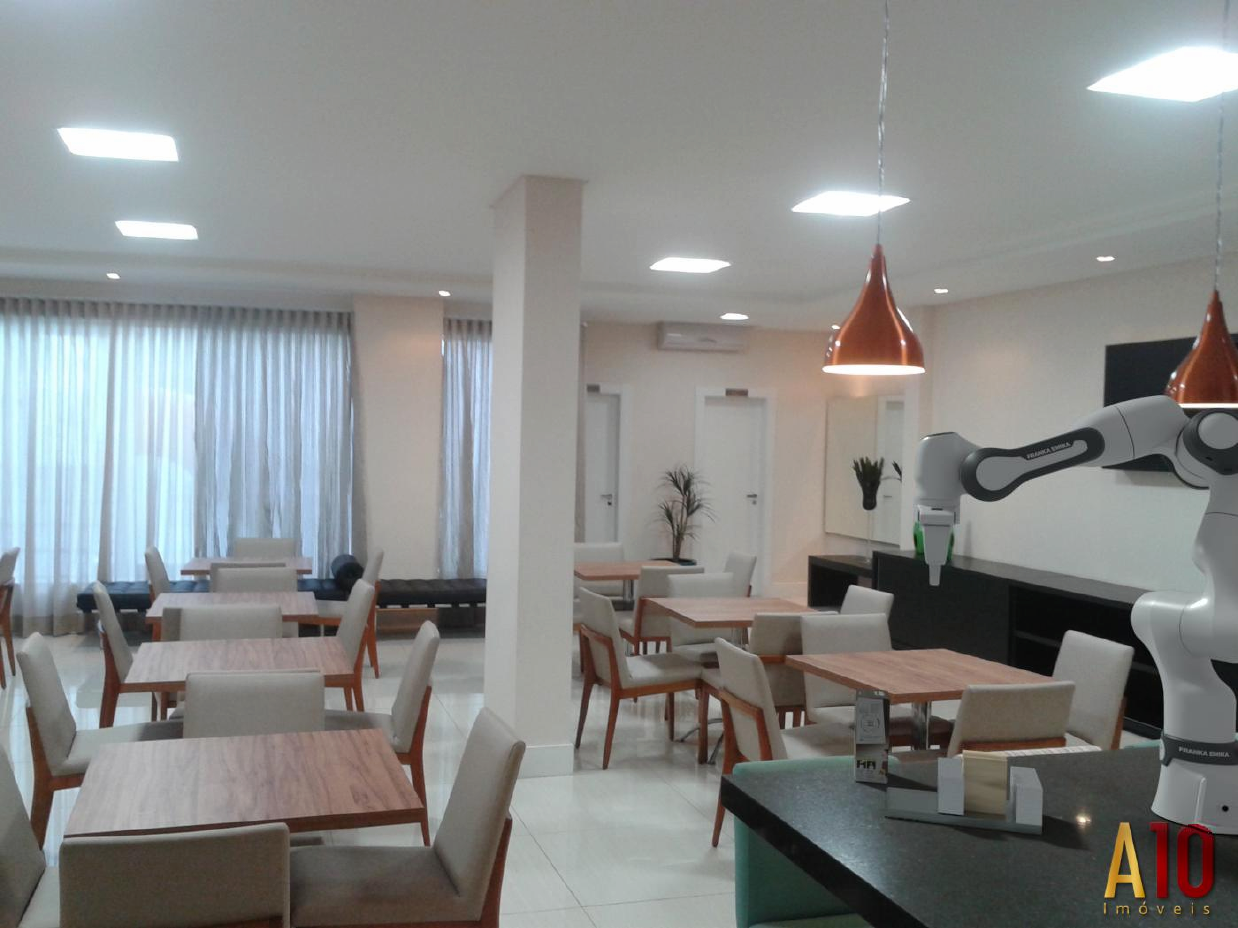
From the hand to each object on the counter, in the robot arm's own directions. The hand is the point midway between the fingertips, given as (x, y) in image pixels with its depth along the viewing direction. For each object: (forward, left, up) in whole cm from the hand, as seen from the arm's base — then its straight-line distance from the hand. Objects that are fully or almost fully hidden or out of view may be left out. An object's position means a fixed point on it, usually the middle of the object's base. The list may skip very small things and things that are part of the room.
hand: (934, 584), depth 208 cm
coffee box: (+11, +6, -37) cm, 39 cm away
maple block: (-9, +24, -36) cm, 44 cm away
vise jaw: (-3, +24, -35) cm, 43 cm away
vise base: (-5, +24, -37) cm, 44 cm away
